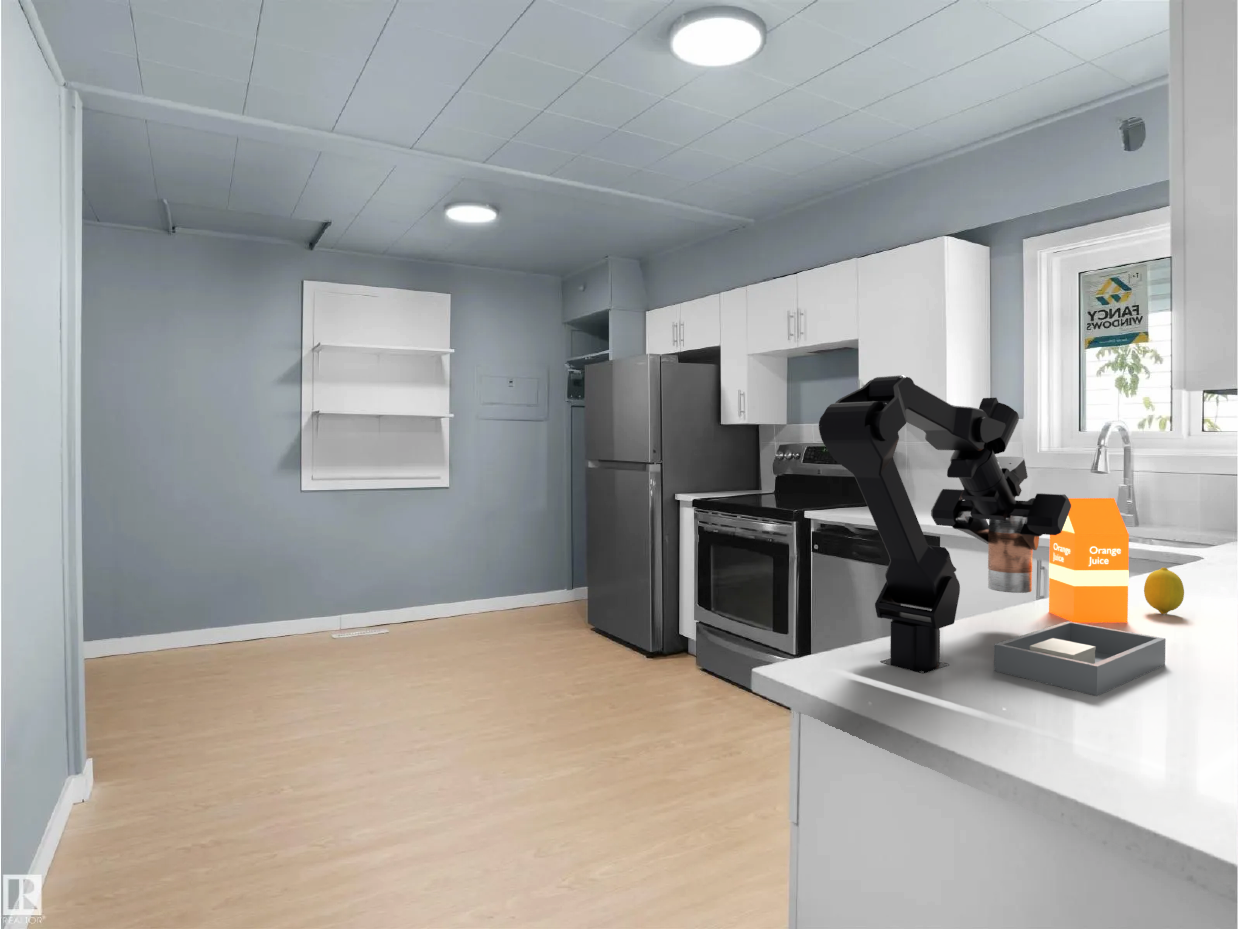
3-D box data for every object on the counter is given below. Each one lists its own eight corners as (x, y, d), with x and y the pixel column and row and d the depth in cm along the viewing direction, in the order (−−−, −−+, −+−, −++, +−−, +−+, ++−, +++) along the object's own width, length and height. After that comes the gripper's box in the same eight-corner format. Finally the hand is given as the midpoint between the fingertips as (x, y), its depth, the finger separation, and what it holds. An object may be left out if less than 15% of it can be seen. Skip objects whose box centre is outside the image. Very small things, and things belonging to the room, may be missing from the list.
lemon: (1190, 618, 126) (1191, 570, 126) (1152, 617, 128) (1153, 569, 127) (1173, 611, 132) (1174, 565, 132) (1137, 610, 133) (1138, 564, 133)
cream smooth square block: (1072, 684, 92) (1073, 655, 92) (1029, 674, 96) (1029, 645, 96) (1095, 675, 95) (1095, 646, 95) (1052, 665, 99) (1052, 638, 99)
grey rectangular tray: (1096, 701, 88) (1097, 666, 88) (994, 675, 98) (994, 644, 97) (1165, 669, 100) (1165, 638, 99) (1067, 648, 109) (1067, 621, 109)
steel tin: (1019, 594, 114) (1020, 507, 114) (980, 588, 119) (981, 505, 119) (1039, 589, 118) (1040, 505, 117) (1000, 584, 123) (1001, 503, 122)
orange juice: (1128, 622, 124) (1130, 499, 124) (1073, 622, 125) (1075, 500, 124) (1099, 611, 132) (1100, 496, 132) (1047, 611, 132) (1049, 496, 132)
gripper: (1067, 438, 108) (1095, 511, 115) (940, 438, 123) (972, 503, 130) (1042, 496, 103) (1074, 568, 111) (914, 489, 118) (949, 554, 125)
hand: (1014, 545), depth 119 cm, fingers closed on steel tin, 6 cm apart
